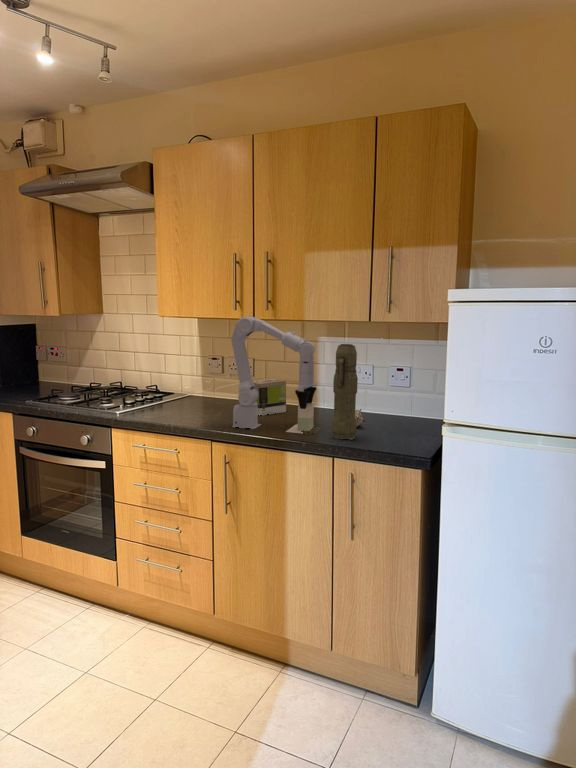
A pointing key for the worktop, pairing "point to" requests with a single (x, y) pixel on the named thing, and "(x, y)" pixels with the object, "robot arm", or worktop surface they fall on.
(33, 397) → the worktop surface
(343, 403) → the stone moai statue
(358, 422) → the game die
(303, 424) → the pale green cube
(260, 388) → the tea box
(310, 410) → the cream brick
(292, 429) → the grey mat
